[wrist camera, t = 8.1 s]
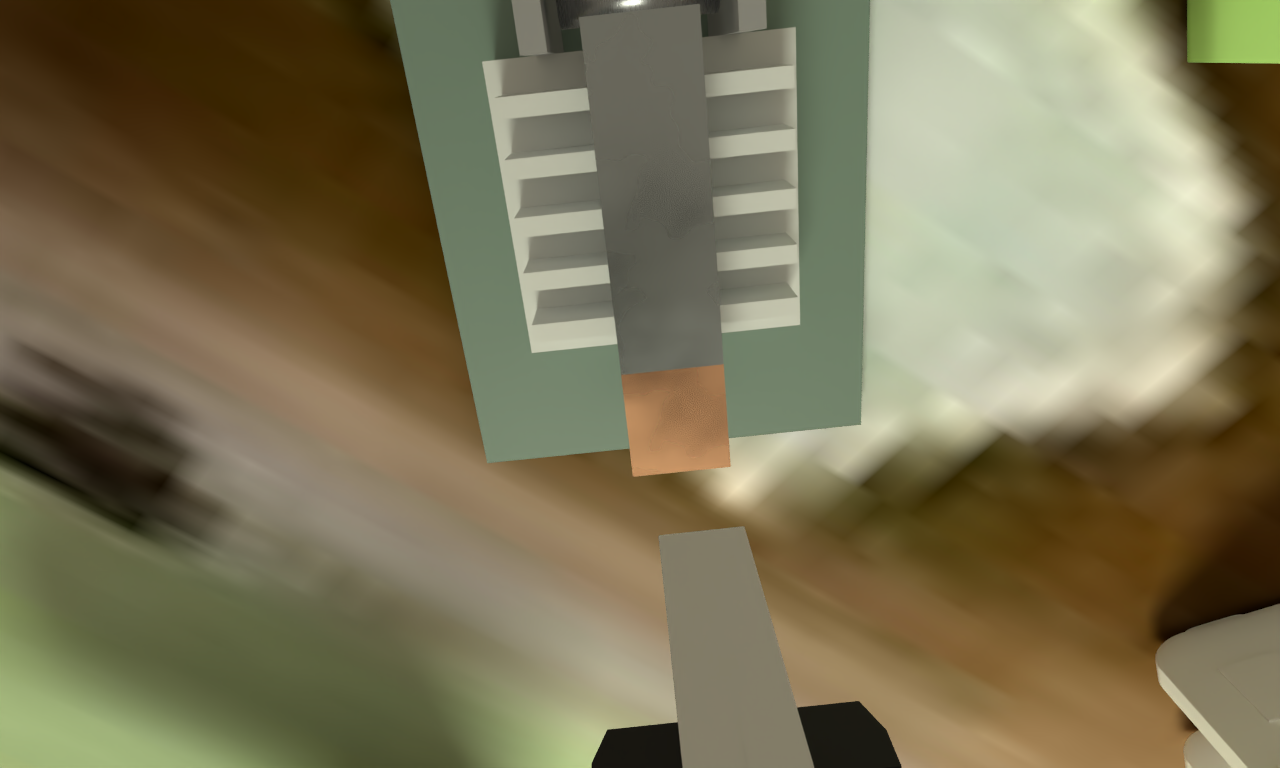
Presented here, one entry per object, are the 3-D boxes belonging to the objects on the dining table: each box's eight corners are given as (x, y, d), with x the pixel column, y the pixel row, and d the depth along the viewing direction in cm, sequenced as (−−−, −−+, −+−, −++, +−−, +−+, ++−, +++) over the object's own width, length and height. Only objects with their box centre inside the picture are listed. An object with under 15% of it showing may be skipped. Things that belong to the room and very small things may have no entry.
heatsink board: (491, 450, 37) (455, 563, 29) (373, -122, 27) (268, -197, 19) (853, 413, 37) (922, 516, 29) (863, -177, 27) (971, -278, 19)
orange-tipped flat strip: (617, 460, 29) (616, 482, 27) (555, -32, 23) (549, -43, 21) (740, 447, 29) (748, 468, 27) (710, -50, 23) (717, -62, 21)
